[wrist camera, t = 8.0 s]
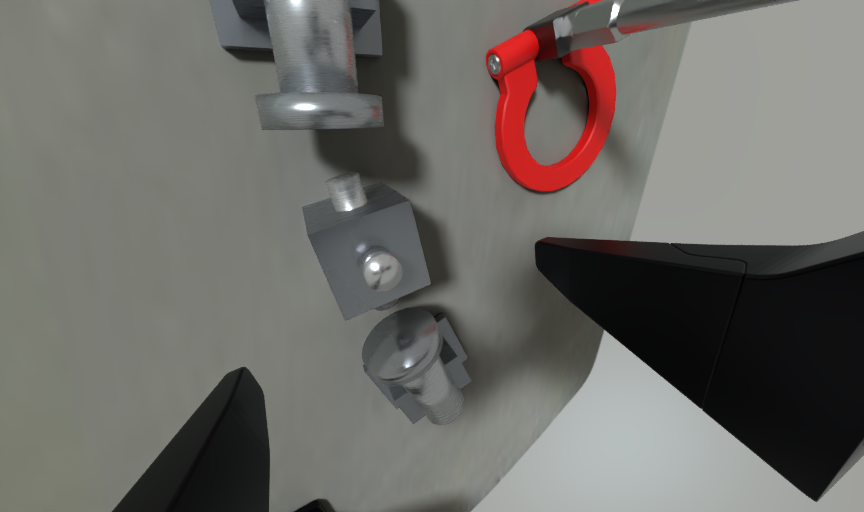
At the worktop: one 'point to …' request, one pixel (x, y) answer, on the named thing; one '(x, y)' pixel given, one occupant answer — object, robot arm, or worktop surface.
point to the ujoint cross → (366, 244)
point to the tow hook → (582, 51)
